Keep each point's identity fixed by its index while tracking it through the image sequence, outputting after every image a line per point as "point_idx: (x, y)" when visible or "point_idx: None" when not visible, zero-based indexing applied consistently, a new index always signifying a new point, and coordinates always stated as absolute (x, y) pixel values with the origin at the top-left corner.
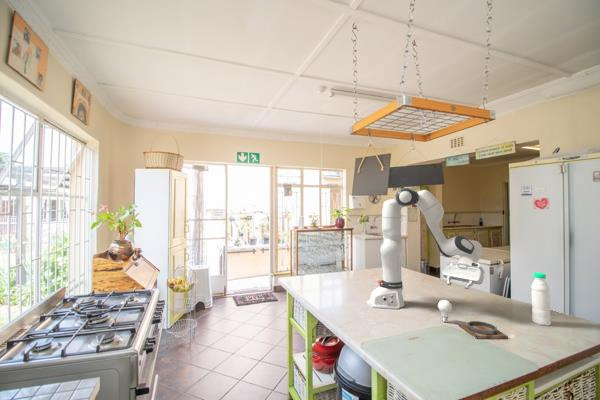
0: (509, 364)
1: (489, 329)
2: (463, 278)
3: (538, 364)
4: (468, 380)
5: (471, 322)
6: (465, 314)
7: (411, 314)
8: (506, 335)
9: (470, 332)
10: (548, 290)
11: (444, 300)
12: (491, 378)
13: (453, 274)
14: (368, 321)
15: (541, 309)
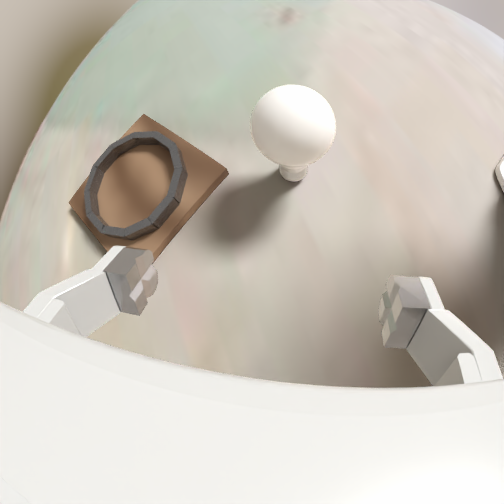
0: (85, 79)
1: (114, 210)
2: (120, 348)
3: (44, 125)
4: (145, 6)
5: (169, 187)
6: (268, 377)
7: (435, 150)
8: (71, 203)
9: (163, 127)
10: None
11: (290, 94)
12: (116, 29)
13: (421, 432)
14: (429, 31)
15: None
